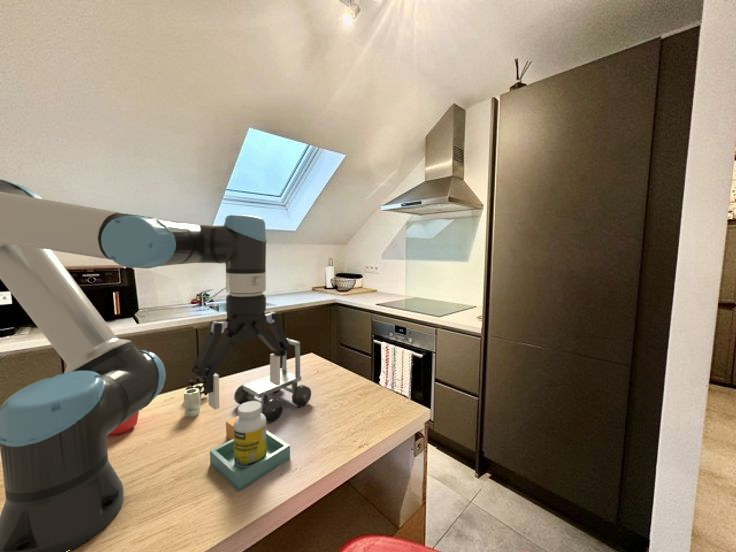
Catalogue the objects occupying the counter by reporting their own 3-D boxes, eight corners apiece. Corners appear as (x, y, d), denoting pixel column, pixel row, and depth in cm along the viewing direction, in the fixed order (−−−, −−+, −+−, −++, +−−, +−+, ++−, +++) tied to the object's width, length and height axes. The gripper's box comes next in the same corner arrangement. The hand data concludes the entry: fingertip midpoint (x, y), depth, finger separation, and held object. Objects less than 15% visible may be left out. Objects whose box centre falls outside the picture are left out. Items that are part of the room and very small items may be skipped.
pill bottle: (227, 465, 62) (225, 411, 61) (248, 446, 69) (246, 396, 68) (253, 472, 61) (252, 417, 60) (273, 452, 67) (272, 401, 66)
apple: (132, 417, 81) (130, 388, 80) (147, 426, 77) (145, 396, 76) (94, 432, 74) (91, 401, 73) (107, 443, 70) (105, 410, 69)
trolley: (264, 426, 77) (263, 358, 76) (234, 406, 87) (232, 346, 85) (311, 402, 90) (310, 343, 88) (280, 387, 99) (279, 334, 97)
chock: (237, 445, 70) (236, 428, 70) (226, 437, 73) (225, 421, 73) (253, 436, 73) (252, 421, 73) (241, 429, 76) (241, 414, 76)
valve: (204, 416, 82) (211, 395, 93) (203, 392, 81) (210, 374, 93) (176, 420, 80) (186, 399, 91) (175, 396, 79) (185, 377, 90)
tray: (239, 491, 57) (238, 476, 56) (210, 464, 64) (209, 450, 63) (290, 458, 66) (289, 445, 65) (259, 437, 73) (259, 425, 73)
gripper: (187, 303, 49) (190, 427, 51) (306, 289, 69) (305, 380, 71) (169, 297, 54) (172, 411, 56) (286, 286, 73) (285, 371, 75)
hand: (247, 394), depth 63 cm, fingers open, 13 cm apart
